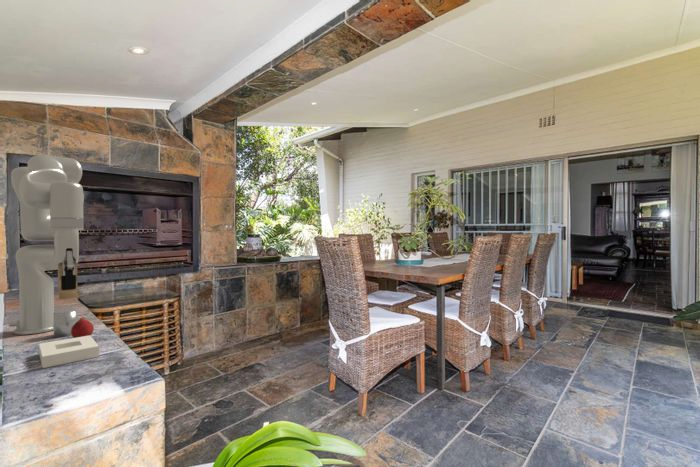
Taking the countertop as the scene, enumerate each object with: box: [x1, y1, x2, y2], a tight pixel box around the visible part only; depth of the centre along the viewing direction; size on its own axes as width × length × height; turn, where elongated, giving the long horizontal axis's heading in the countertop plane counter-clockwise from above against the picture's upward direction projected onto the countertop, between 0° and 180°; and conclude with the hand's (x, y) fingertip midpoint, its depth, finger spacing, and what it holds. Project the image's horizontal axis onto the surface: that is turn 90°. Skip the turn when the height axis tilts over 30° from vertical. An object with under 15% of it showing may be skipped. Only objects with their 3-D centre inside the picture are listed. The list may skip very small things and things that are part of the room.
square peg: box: [57, 262, 79, 300], centre depth 100 cm, size 4×4×10 cm
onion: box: [71, 316, 95, 338], centre depth 114 cm, size 6×6×8 cm
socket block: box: [38, 335, 100, 369], centre depth 100 cm, size 16×12×3 cm
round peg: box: [53, 309, 79, 338], centre depth 123 cm, size 7×7×8 cm
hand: (67, 288), depth 100 cm, fingers closed on square peg, 4 cm apart
